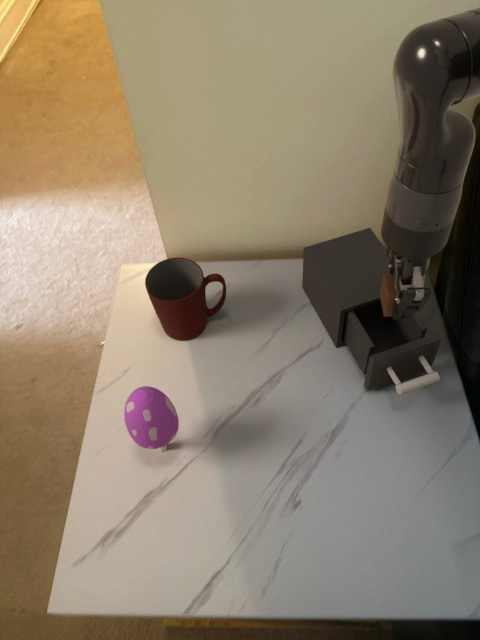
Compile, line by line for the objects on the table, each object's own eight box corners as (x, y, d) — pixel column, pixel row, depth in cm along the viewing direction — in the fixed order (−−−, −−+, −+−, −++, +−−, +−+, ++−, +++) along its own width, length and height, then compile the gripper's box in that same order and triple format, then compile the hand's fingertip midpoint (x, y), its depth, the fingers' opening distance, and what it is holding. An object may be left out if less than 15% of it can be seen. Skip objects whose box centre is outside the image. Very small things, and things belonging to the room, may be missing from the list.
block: (409, 292, 76) (414, 272, 73) (414, 315, 74) (420, 296, 71) (379, 293, 77) (383, 274, 74) (383, 316, 74) (387, 297, 71)
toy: (132, 463, 79) (104, 412, 67) (150, 421, 83) (127, 366, 71) (176, 475, 77) (156, 425, 66) (193, 432, 81) (176, 378, 69)
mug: (227, 296, 96) (221, 251, 88) (233, 338, 91) (227, 294, 82) (157, 306, 96) (144, 261, 87) (159, 348, 91) (145, 305, 82)
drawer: (446, 392, 81) (459, 363, 75) (381, 416, 80) (388, 388, 74) (390, 308, 91) (397, 276, 85) (331, 328, 90) (334, 296, 83)
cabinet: (402, 325, 90) (413, 286, 82) (336, 348, 88) (340, 310, 81) (363, 267, 98) (370, 227, 90) (302, 287, 96) (303, 247, 89)
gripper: (471, 251, 57) (436, 346, 71) (442, 162, 66) (416, 263, 79) (396, 254, 58) (376, 348, 71) (377, 166, 66) (362, 265, 80)
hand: (397, 303), depth 75 cm, fingers closed on block, 4 cm apart
